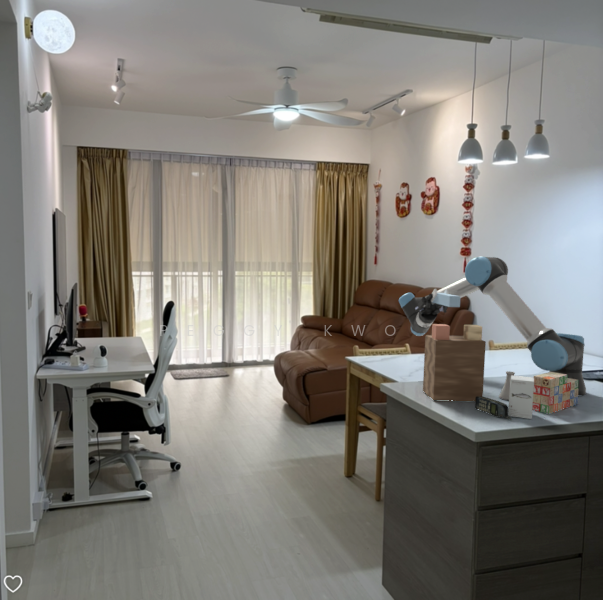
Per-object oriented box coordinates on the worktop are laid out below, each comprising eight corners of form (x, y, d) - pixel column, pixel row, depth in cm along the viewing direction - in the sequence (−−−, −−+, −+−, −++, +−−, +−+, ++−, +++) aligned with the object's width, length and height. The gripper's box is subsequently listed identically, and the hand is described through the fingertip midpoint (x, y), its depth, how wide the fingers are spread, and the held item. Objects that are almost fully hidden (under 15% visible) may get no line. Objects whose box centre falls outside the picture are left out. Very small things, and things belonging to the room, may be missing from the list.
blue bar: (432, 302, 230) (432, 292, 230) (441, 302, 230) (442, 292, 230) (449, 306, 208) (449, 296, 208) (459, 307, 208) (460, 296, 208)
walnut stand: (422, 391, 216) (425, 334, 215) (468, 392, 217) (471, 335, 216) (433, 401, 202) (436, 340, 201) (482, 401, 203) (485, 341, 202)
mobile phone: (473, 395, 194) (507, 405, 180) (480, 394, 195) (514, 404, 181) (473, 409, 194) (506, 420, 180) (480, 409, 195) (513, 419, 182)
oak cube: (463, 338, 209) (464, 324, 208) (476, 338, 209) (477, 325, 209) (468, 340, 204) (468, 326, 203) (481, 340, 204) (482, 326, 204)
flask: (520, 401, 205) (522, 374, 204) (500, 400, 207) (501, 373, 206) (517, 397, 212) (519, 370, 212) (497, 395, 214) (498, 369, 213)
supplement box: (507, 416, 185) (509, 378, 184) (508, 411, 192) (510, 374, 191) (532, 419, 182) (534, 381, 181) (532, 414, 189) (534, 376, 188)
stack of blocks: (560, 401, 208) (562, 368, 207) (577, 405, 203) (580, 371, 202) (531, 410, 194) (533, 375, 193) (548, 414, 189) (551, 378, 188)
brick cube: (431, 337, 208) (432, 324, 208) (445, 337, 208) (445, 324, 208) (435, 339, 203) (436, 325, 203) (449, 339, 203) (449, 326, 203)
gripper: (447, 324, 244) (464, 300, 223) (408, 323, 243) (421, 299, 222) (444, 308, 247) (461, 283, 226) (406, 307, 246) (419, 282, 225)
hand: (441, 291), depth 224 cm, fingers closed on blue bar, 4 cm apart
